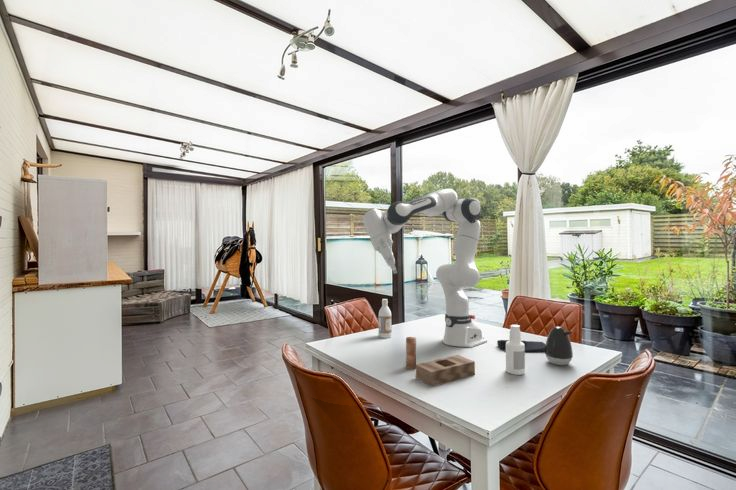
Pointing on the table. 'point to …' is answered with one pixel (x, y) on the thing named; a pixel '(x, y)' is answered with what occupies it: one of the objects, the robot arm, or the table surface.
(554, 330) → the pump dispenser
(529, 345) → the dark slate chunk
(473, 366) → the socket block
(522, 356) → the white bottle
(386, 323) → the bath foam
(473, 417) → the table surface
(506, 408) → the table surface
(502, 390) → the table surface
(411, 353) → the peg
